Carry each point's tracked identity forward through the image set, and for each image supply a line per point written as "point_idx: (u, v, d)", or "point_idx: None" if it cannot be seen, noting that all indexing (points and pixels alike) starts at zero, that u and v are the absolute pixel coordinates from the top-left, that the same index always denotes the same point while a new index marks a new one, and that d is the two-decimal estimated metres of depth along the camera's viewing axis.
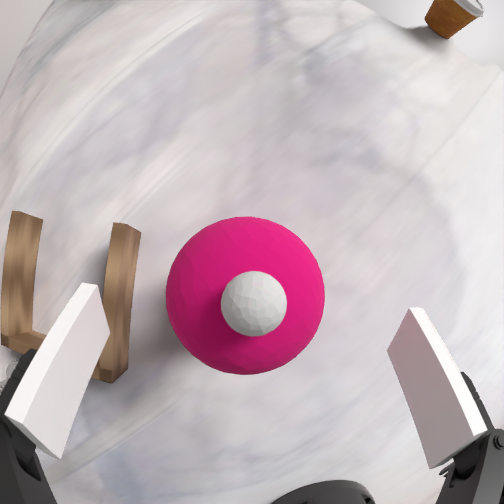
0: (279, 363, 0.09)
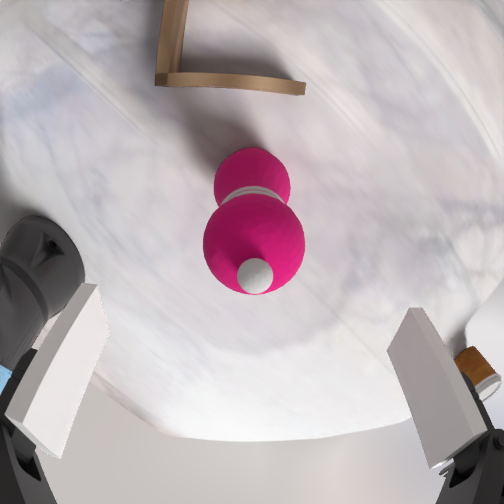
0: (215, 275, 0.17)
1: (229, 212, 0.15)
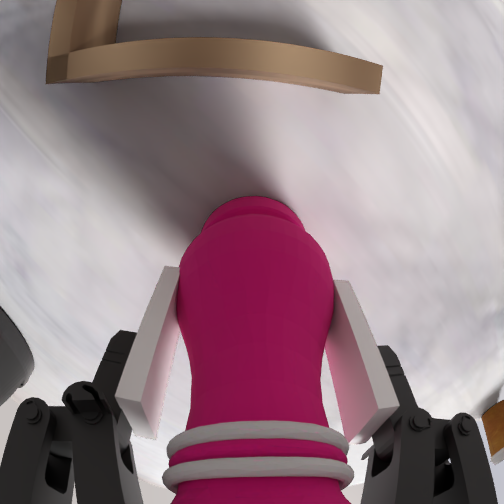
0: None
1: None
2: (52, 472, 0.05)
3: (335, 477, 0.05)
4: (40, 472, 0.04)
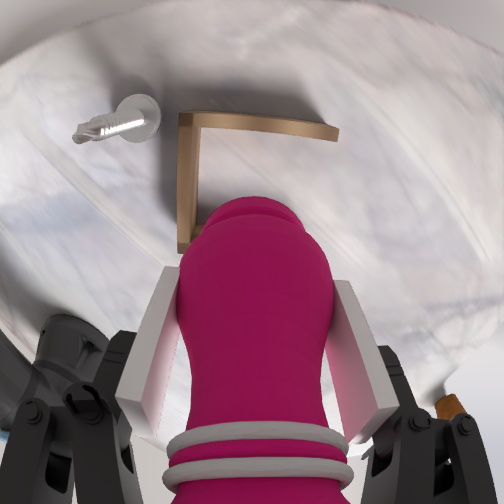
0: None
1: None
2: (52, 472, 0.05)
3: (335, 477, 0.05)
4: (40, 472, 0.04)
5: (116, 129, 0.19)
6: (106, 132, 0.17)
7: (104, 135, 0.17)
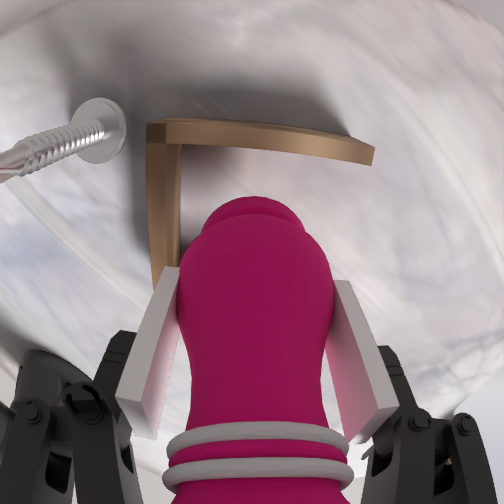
0: None
1: None
2: (52, 472, 0.05)
3: (335, 478, 0.05)
4: (40, 472, 0.04)
5: (54, 154, 0.12)
6: (35, 162, 0.10)
7: (33, 167, 0.10)
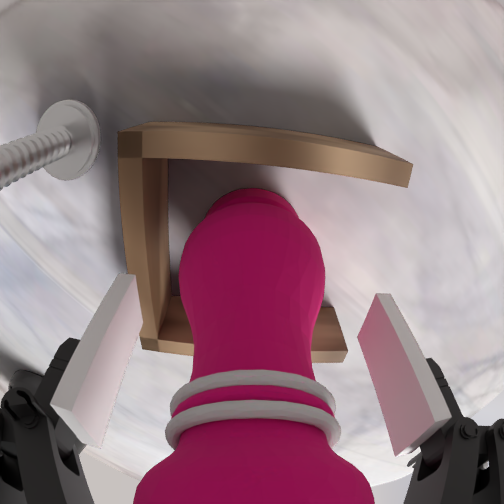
0: None
1: None
2: (10, 472, 0.04)
3: (321, 426, 0.06)
4: None
5: (1, 179, 0.08)
6: None
7: None
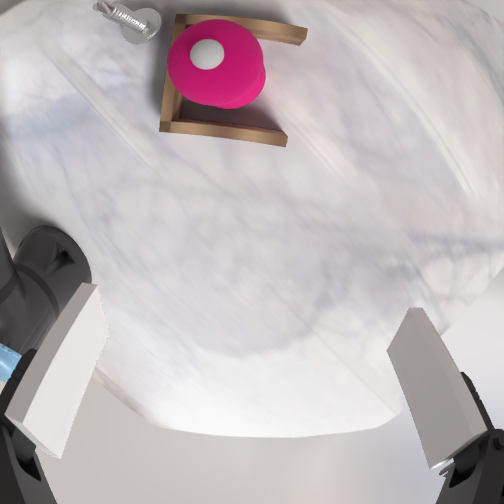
0: (173, 77, 0.14)
1: None
2: None
3: None
4: None
5: (125, 16, 0.18)
6: (118, 12, 0.17)
7: (115, 14, 0.17)
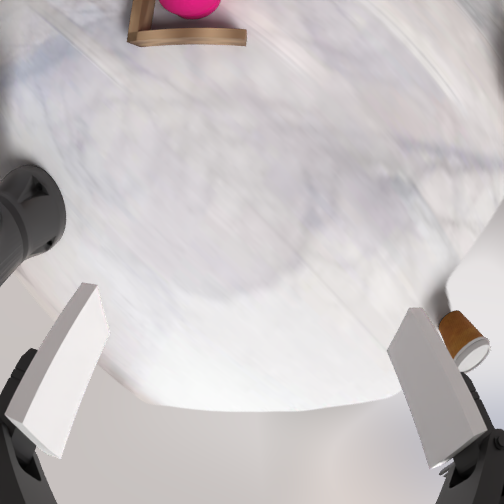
0: None
1: None
2: None
3: None
4: None
5: None
6: None
7: None
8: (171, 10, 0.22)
